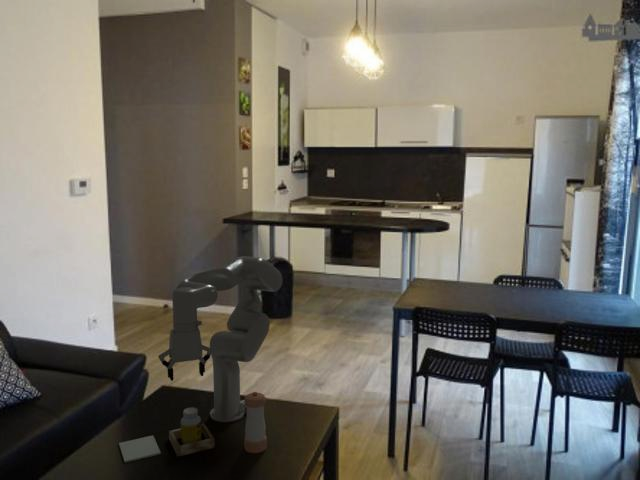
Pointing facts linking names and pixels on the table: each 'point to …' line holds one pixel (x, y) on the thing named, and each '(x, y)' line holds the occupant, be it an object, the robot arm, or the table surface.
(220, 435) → the table surface
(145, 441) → the ceramic tile
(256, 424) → the pepper shaker
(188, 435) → the pill bottle
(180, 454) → the oak cradle
